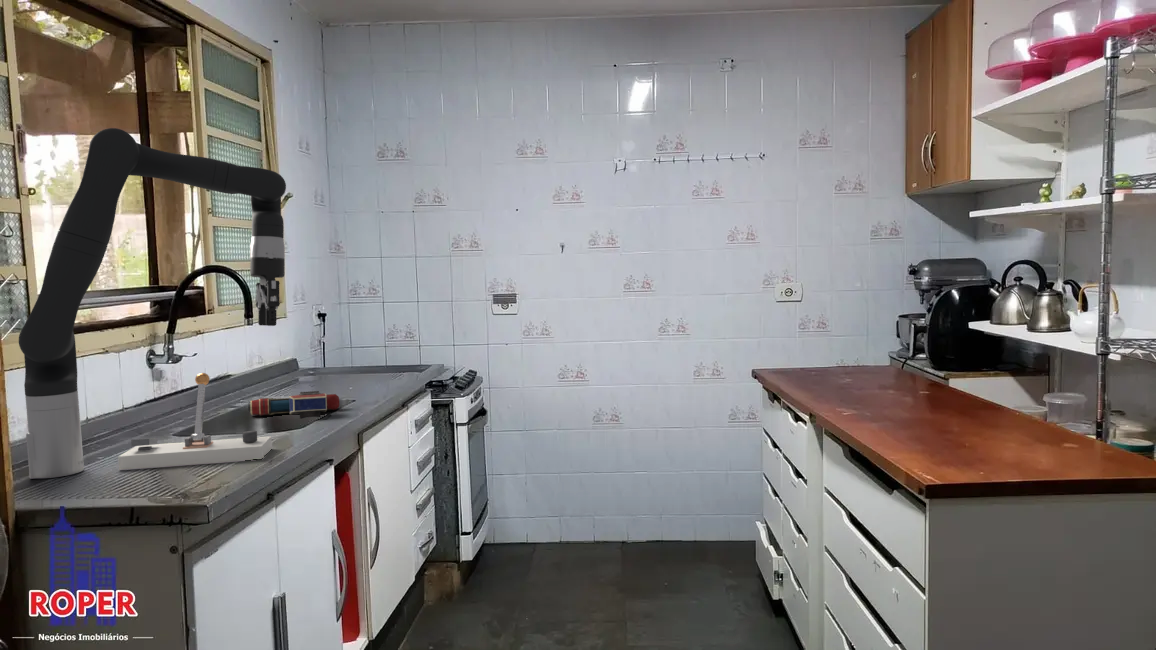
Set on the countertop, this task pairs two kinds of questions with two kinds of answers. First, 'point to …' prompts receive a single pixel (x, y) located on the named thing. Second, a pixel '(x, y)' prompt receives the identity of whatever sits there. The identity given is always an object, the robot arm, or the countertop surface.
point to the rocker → (144, 442)
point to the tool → (296, 404)
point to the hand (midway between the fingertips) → (267, 325)
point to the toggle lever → (200, 407)
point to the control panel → (194, 453)
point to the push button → (249, 436)
